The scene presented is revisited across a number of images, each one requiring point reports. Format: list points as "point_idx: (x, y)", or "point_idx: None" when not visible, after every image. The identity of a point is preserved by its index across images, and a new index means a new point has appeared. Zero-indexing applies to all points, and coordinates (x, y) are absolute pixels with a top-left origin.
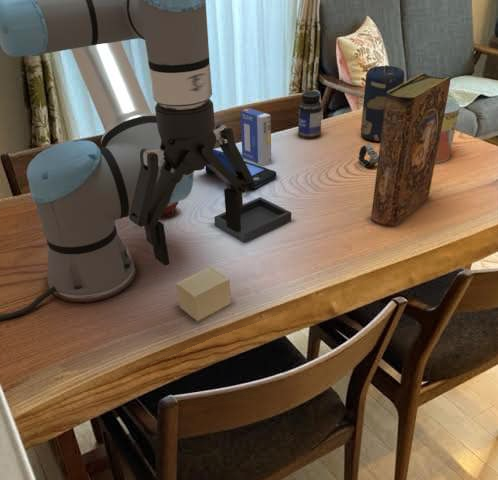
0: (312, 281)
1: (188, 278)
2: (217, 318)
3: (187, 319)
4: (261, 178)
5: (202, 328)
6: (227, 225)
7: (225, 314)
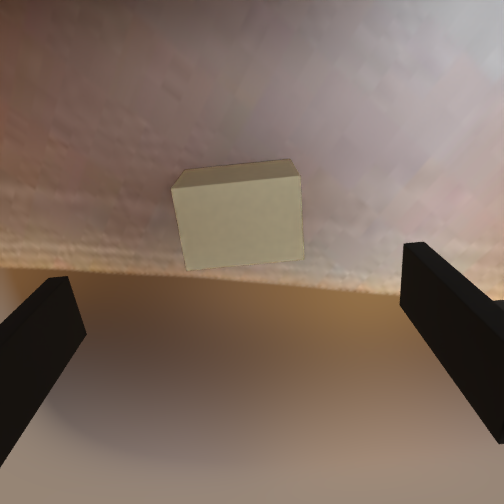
0: (490, 271)
1: (212, 190)
2: None
3: None
4: None
5: None
6: (406, 251)
7: None
